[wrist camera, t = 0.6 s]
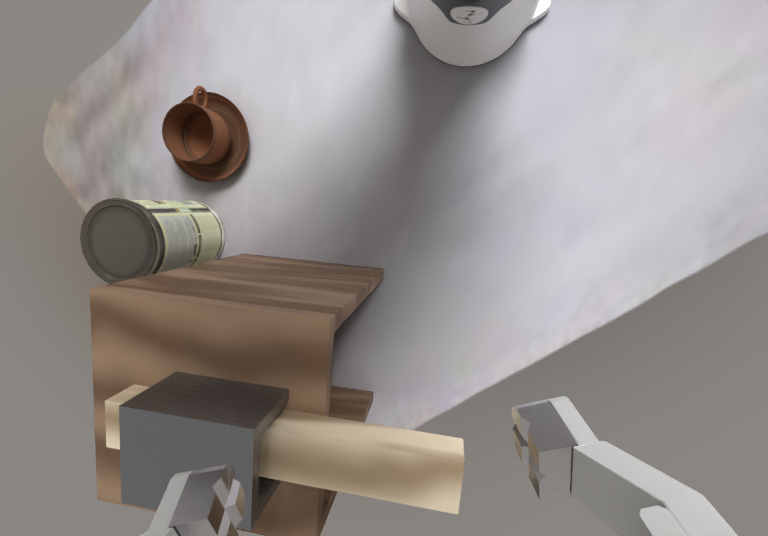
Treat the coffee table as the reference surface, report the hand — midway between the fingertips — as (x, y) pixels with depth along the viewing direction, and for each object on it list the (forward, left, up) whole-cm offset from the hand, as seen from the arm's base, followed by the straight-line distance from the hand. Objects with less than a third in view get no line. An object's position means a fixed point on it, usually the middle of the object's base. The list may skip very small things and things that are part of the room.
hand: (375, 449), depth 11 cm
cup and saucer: (-14, -33, -45) cm, 57 cm away
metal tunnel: (+12, -15, -18) cm, 27 cm away
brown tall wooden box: (+12, -17, -44) cm, 49 cm away
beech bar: (+12, -10, -18) cm, 24 cm away
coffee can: (0, -36, -45) cm, 57 cm away
